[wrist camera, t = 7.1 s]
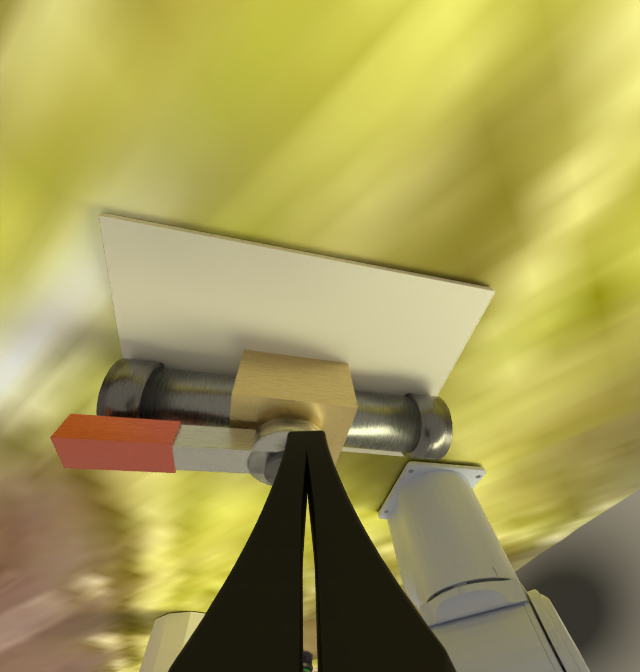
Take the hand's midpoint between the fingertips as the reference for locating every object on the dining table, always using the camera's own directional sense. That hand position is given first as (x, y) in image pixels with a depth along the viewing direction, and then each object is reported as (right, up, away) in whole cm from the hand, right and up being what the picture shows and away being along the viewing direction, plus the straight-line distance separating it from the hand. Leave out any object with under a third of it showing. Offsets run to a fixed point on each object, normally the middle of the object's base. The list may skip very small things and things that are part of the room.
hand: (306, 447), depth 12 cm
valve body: (-2, +1, +10) cm, 10 cm away
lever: (-6, -1, +6) cm, 8 cm away
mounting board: (-1, +2, +9) cm, 10 cm away
